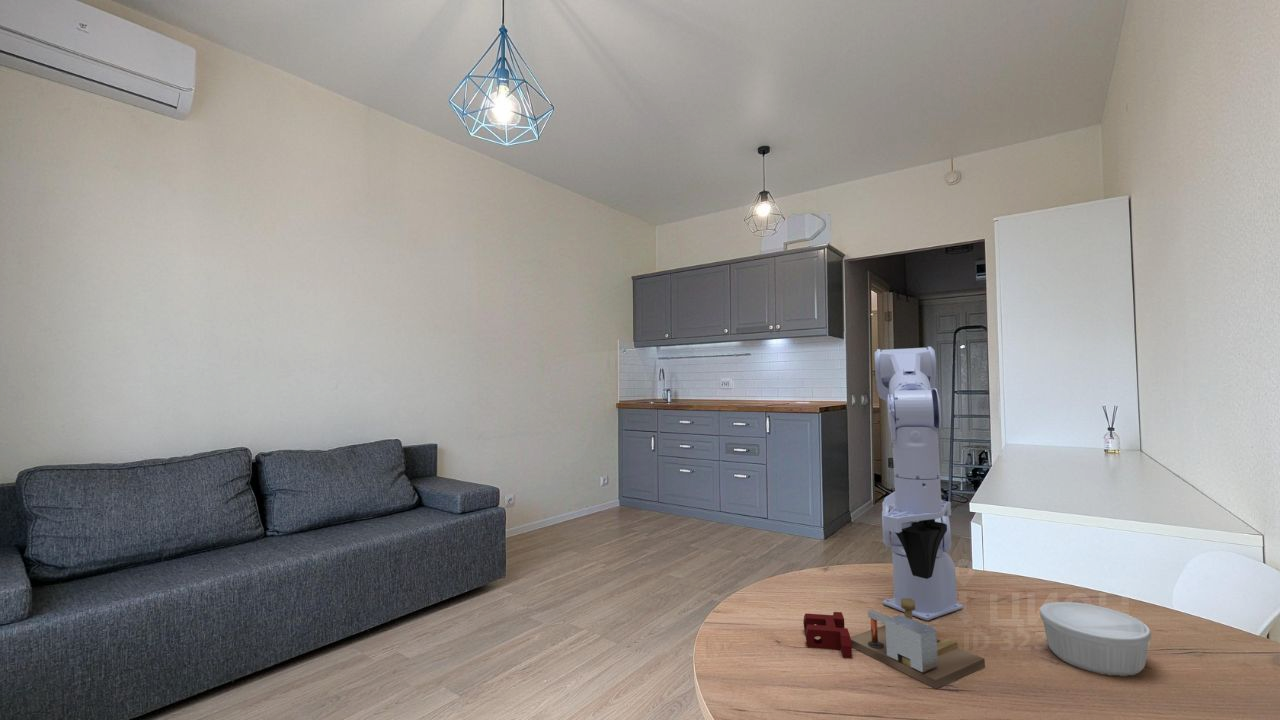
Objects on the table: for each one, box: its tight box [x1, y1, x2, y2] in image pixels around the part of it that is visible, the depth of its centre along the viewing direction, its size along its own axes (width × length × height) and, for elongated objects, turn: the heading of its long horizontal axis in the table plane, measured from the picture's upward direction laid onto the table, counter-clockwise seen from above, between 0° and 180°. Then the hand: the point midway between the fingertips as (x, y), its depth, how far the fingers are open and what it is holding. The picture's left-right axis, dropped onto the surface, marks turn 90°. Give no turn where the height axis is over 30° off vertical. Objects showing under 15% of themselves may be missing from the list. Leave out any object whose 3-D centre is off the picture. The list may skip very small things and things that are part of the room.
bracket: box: [802, 611, 853, 659], centre depth 78 cm, size 3×6×10 cm
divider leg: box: [867, 609, 938, 672], centre depth 71 cm, size 8×3×4 cm, turn 28°
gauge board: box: [850, 598, 986, 690], centre depth 73 cm, size 13×10×6 cm
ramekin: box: [1039, 601, 1152, 677], centre depth 71 cm, size 11×11×5 cm
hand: (922, 576), depth 75 cm, fingers closed
